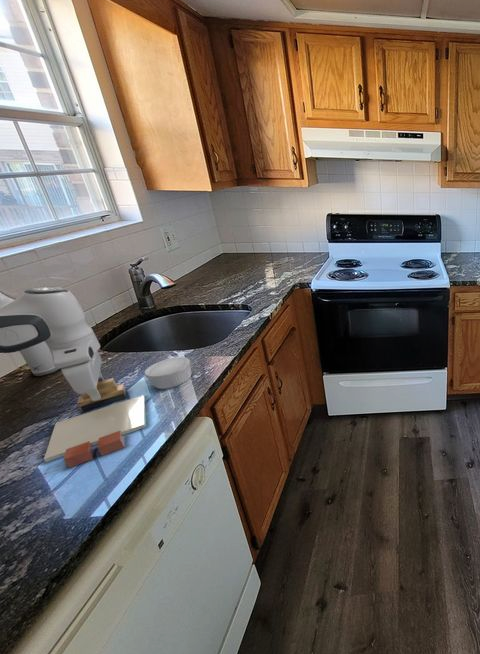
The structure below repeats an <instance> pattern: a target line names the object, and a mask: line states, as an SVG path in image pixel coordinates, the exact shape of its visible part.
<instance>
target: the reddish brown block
mask: <svg viewBox="0 0 480 654" xmlns="http://www.w3.org/2000/svg"><path fill="white" fill-rule="evenodd" d="M94 453H95V447H94V446H92V444H91V442H90V441H88V442H86V443H83V444H80V445H77V446H74V447H71V448H68V449H66V452H65V456H63V461H64V463H65V464H66V466H67V467H68V469H70V468H73V467H75V466H78V465H80V464H84V463H86V462H89V461H92V460H94V455H95V454H94Z"/></svg>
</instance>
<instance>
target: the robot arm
mask: <svg viewBox="0 0 480 654" xmlns="http://www.w3.org/2000/svg"><path fill="white" fill-rule="evenodd" d="M43 341H45V342H46V344H47V346H48V347H49V349H50V352H51V354H52V356H53V364H54V366H55V367H56V369H58V370H61V373H62V375H63V376H64V377H63V378H65V380H66V381H67V383H68V385H70V387H71V389H72V390H73V391H74V392H75V393H76V394H78V395H81V394H83V393H86V394H88V395H89V396H90V398H91V399H92V401H96V400H99V399H101V394H100V392H99V391H98V390H97V383H98V382H100V381H104V380H105V379H104V377H103V374H102V371H101V367H102V363H103V362H102V361H103V360H102V356H101V354H100V352H99V351H98V350H100V349H101V343H100V342H99V339H98V338H97V336H96V334H95V332H94V330H93V328H92V327H91V326H90V325H89V324H88V322H87V316H86V313H85V311H84V309H83V307H82V306H81V304H80V302H79V301H78V299H77V297H76V296H75V295H74V294H73V293H72V292H71V291H70V290H68V289H66V288H64V287H61V286H36V287H33V288H29V289H26V290H24V291H23V292H22V294H20V295H19V296H18V297H14V296H11V295H10V294H9V295H8V294H6V293H5V292H3V291H1V290H0V354H10V353H16V352H20V350H23V349H26V348H29V347H31V346H34V345H37V344H39V343H41V342H43Z"/></svg>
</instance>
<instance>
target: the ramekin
mask: <svg viewBox="0 0 480 654" xmlns="http://www.w3.org/2000/svg"><path fill="white" fill-rule="evenodd" d="M143 374H144V376H145V377H146V379H147V380H148V381H149V382H150V383H151V385H152V386H153V387H154V388H156V389H158V390H166V389H167V390H169V389H172V388H175V387H178V386H181V385H183V384H184V383H186V382H188V380H189V379H190V378H191V376H192V368H191V360H190V359H189V358H188V357H185V356H175V357H170V358H166V359H163V360H160V361H158V362H156V363H154V364H152V365H150V366H149V367H147V368H146V369H145V371H144V373H143Z"/></svg>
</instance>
